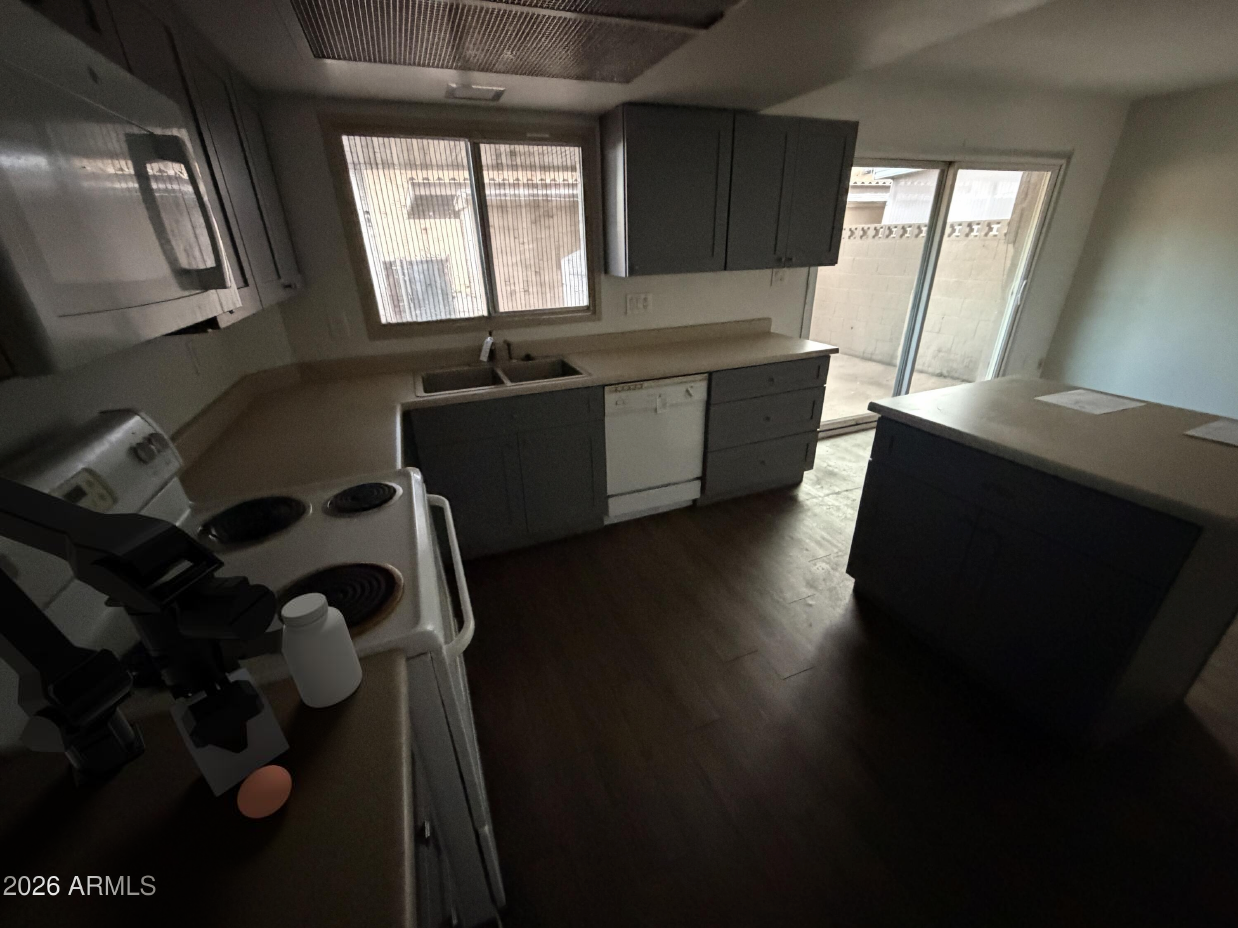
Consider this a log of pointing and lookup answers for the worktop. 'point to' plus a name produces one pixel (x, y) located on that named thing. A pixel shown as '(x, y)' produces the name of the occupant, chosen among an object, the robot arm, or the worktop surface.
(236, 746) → the robot arm
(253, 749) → the grey cube
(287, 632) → the pill bottle
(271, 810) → the ball
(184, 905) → the worktop surface
